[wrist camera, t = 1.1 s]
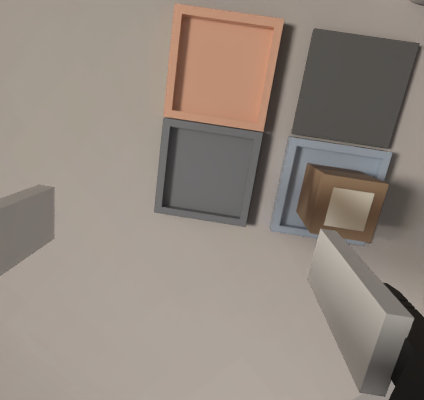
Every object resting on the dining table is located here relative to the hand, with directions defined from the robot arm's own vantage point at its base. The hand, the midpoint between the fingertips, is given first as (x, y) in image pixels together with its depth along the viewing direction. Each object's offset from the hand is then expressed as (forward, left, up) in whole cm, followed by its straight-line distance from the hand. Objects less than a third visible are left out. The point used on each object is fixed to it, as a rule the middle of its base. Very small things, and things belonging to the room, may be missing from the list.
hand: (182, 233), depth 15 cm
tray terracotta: (-9, 0, -17) cm, 19 cm away
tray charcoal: (0, 0, -17) cm, 17 cm away
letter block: (0, +12, -16) cm, 20 cm away
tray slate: (0, +12, -17) cm, 20 cm away
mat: (-9, +12, -17) cm, 23 cm away
